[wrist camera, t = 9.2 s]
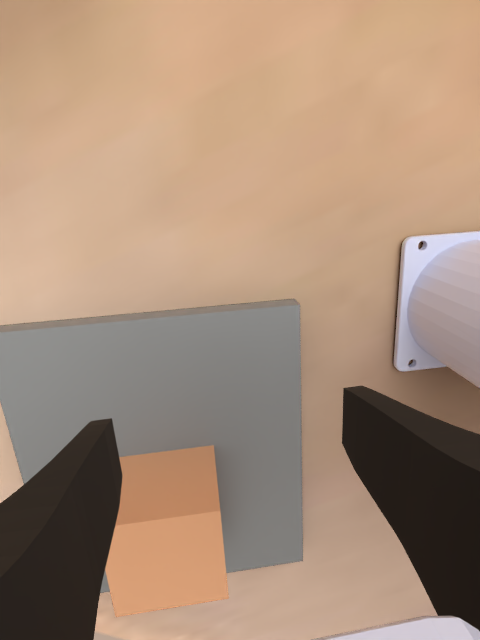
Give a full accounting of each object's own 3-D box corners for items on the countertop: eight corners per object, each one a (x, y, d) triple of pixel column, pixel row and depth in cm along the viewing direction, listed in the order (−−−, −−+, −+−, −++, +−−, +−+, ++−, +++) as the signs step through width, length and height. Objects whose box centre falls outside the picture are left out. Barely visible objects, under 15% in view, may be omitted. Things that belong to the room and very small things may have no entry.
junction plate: (294, 298, 22) (320, 326, 18) (298, 545, 28) (319, 613, 23) (-8, 326, 21) (-62, 363, 16) (62, 582, 26) (37, 661, 22)
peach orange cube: (213, 445, 23) (220, 510, 18) (220, 521, 25) (228, 598, 20) (115, 457, 23) (96, 528, 18) (129, 534, 24) (115, 617, 20)
